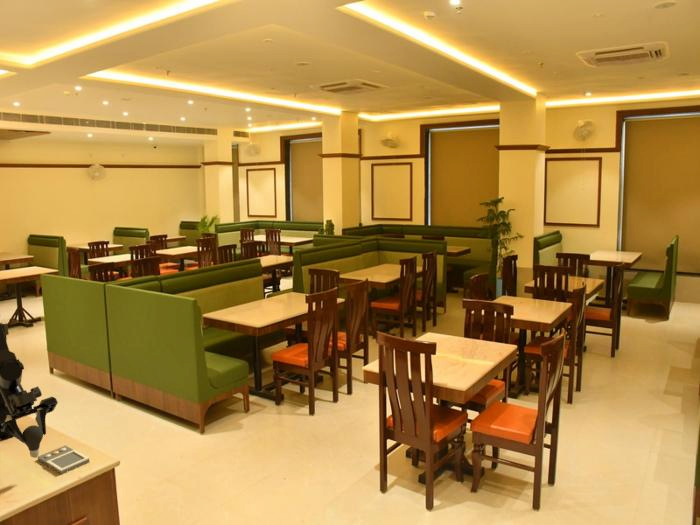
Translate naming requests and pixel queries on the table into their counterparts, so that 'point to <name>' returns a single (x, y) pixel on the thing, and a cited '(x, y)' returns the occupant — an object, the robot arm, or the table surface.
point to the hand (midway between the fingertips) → (34, 438)
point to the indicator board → (63, 459)
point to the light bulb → (33, 439)
